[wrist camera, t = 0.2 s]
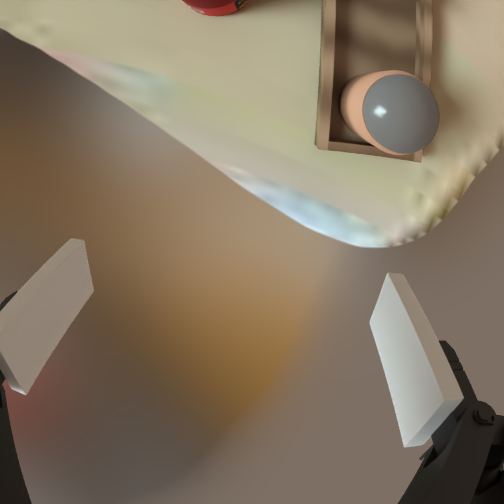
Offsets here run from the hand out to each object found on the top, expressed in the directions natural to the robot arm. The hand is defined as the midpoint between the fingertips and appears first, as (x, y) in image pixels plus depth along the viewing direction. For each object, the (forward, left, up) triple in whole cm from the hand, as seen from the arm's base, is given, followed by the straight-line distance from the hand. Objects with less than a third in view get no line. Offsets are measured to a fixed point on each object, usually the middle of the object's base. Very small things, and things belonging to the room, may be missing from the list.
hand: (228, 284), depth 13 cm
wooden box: (-14, +13, -27) cm, 34 cm away
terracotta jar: (-7, +13, -26) cm, 30 cm away
